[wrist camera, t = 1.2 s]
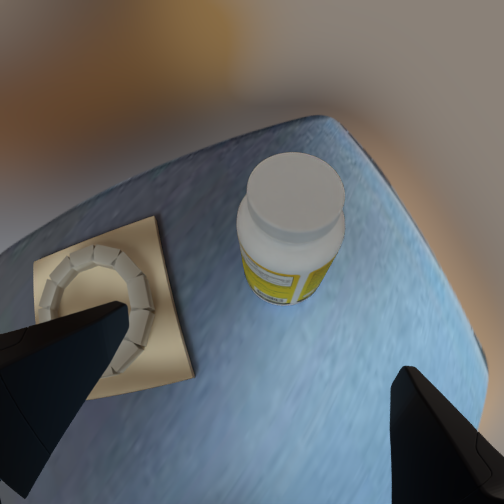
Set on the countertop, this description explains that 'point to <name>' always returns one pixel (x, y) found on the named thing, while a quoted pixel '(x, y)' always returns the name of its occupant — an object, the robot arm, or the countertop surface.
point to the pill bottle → (290, 226)
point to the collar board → (124, 290)
